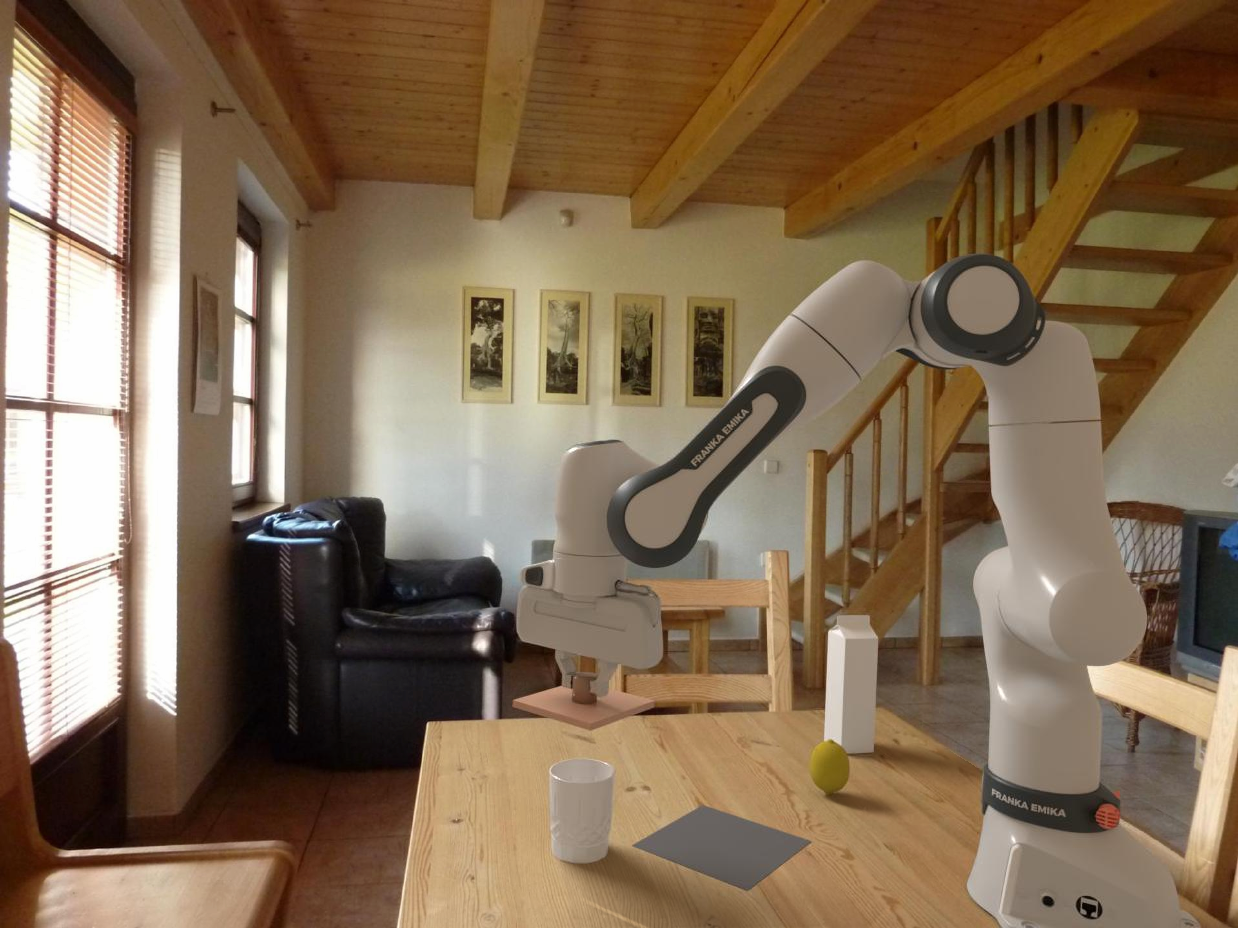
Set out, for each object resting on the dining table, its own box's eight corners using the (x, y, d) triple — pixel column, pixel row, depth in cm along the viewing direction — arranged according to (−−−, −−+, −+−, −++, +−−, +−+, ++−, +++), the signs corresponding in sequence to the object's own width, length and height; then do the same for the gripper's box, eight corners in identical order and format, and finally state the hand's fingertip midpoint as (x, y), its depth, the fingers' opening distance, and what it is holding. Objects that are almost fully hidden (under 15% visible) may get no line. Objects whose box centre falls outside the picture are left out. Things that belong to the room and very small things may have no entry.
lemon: (849, 804, 121) (852, 747, 120) (808, 800, 122) (811, 743, 122) (847, 789, 126) (849, 735, 126) (808, 785, 127) (810, 731, 127)
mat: (811, 844, 108) (811, 840, 108) (747, 893, 96) (747, 890, 96) (702, 807, 118) (702, 804, 118) (631, 848, 105) (631, 845, 105)
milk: (823, 742, 146) (827, 611, 146) (856, 740, 148) (860, 611, 147) (841, 754, 140) (845, 619, 140) (875, 752, 142) (879, 618, 141)
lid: (654, 707, 105) (655, 675, 105) (590, 730, 95) (592, 696, 95) (578, 686, 112) (579, 657, 112) (512, 706, 103) (513, 674, 102)
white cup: (557, 834, 109) (559, 755, 108) (618, 842, 107) (621, 761, 107) (538, 863, 101) (541, 778, 101) (604, 872, 99) (607, 786, 99)
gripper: (676, 584, 99) (671, 704, 100) (545, 563, 112) (541, 670, 112) (644, 590, 94) (639, 716, 95) (510, 568, 107) (506, 679, 107)
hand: (584, 691), depth 104 cm, fingers closed on lid, 3 cm apart
